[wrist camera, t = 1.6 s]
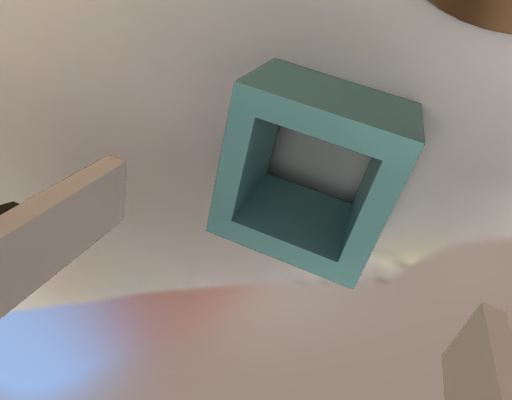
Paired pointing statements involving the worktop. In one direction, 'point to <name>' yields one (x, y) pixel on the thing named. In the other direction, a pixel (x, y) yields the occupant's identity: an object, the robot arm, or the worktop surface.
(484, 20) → the post stand
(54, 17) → the worktop surface
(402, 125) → the collar
